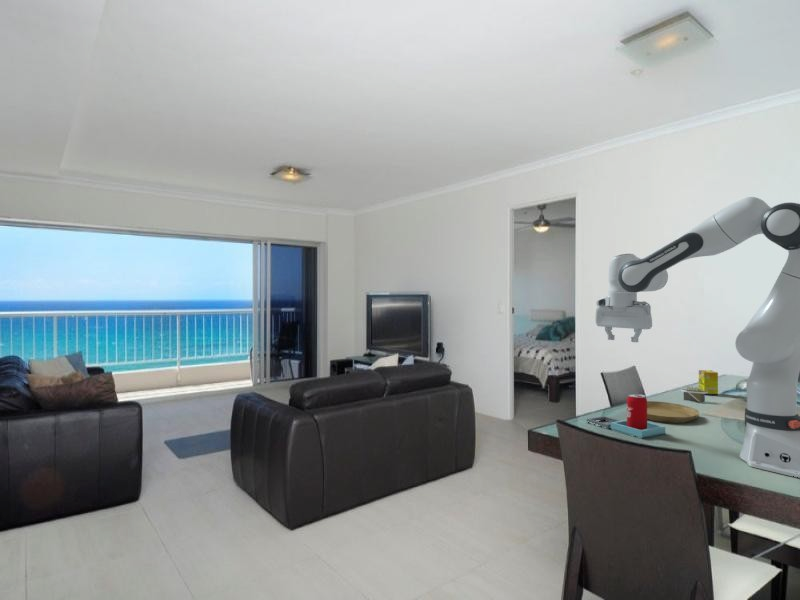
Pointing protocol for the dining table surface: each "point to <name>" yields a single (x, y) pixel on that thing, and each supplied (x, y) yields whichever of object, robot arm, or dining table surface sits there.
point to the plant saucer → (670, 412)
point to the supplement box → (708, 382)
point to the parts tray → (649, 432)
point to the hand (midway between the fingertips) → (622, 341)
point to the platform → (694, 394)
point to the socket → (602, 419)
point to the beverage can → (637, 411)
